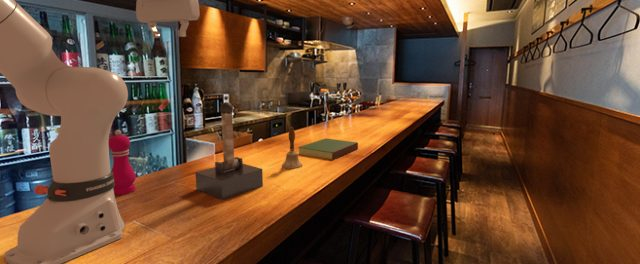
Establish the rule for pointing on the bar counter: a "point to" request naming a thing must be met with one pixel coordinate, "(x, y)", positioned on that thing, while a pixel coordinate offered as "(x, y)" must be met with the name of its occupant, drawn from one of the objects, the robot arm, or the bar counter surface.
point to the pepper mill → (121, 164)
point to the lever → (228, 137)
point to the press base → (228, 180)
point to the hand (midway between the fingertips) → (169, 37)
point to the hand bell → (292, 153)
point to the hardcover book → (328, 148)
